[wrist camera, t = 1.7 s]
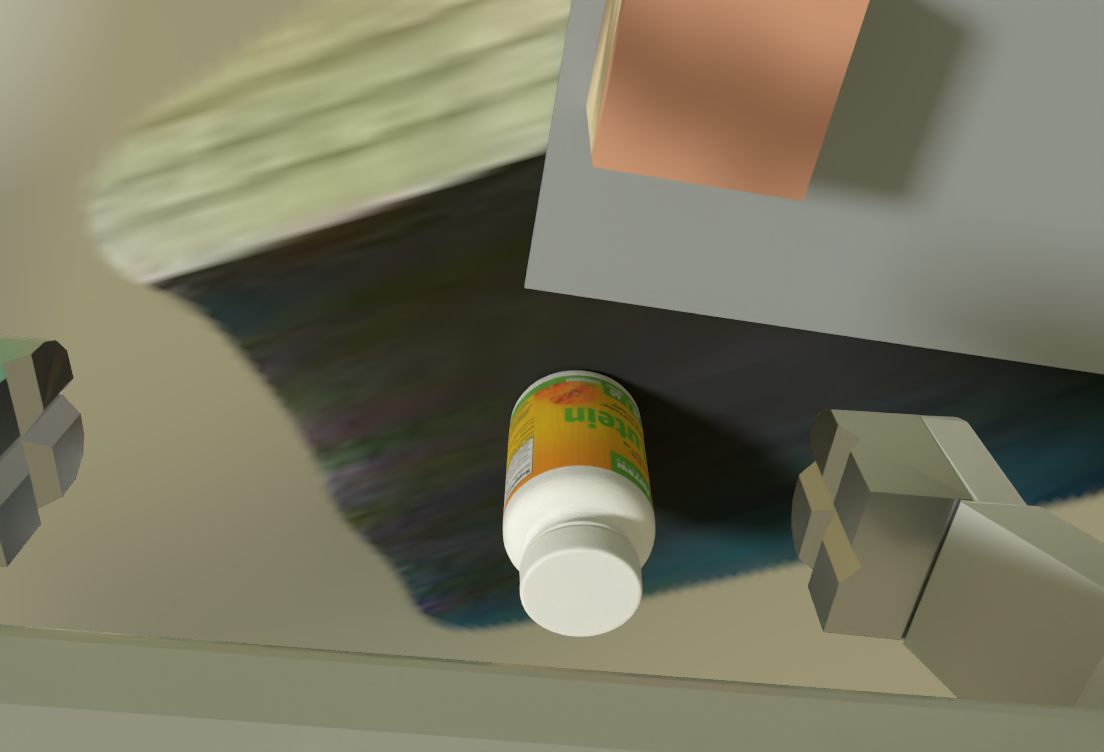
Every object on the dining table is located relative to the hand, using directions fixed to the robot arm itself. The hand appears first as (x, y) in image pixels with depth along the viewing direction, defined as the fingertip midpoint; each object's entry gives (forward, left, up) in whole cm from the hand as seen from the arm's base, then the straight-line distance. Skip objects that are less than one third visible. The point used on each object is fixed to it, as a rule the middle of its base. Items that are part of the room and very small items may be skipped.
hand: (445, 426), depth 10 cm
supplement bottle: (+15, +5, -23) cm, 28 cm away
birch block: (-1, +6, -22) cm, 23 cm away
